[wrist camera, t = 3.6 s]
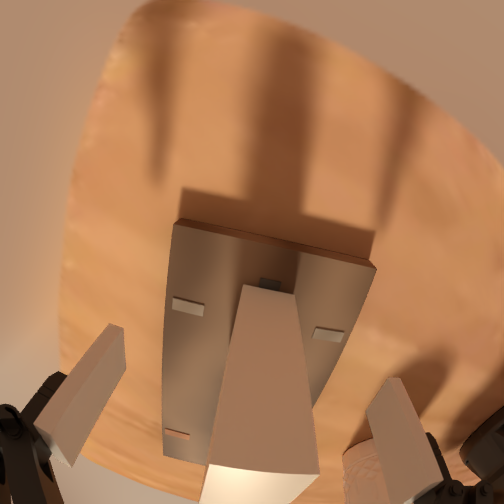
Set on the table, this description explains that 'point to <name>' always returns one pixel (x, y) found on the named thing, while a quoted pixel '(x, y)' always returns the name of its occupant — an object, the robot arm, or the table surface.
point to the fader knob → (262, 408)
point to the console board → (224, 313)
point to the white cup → (363, 475)
